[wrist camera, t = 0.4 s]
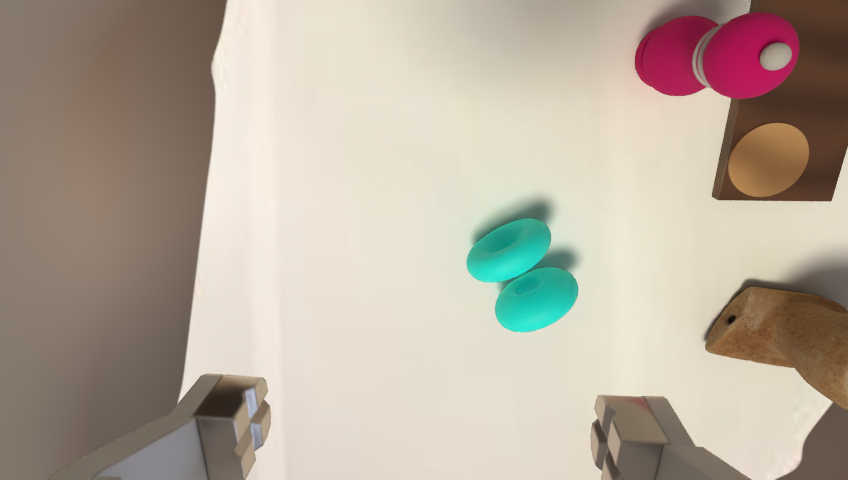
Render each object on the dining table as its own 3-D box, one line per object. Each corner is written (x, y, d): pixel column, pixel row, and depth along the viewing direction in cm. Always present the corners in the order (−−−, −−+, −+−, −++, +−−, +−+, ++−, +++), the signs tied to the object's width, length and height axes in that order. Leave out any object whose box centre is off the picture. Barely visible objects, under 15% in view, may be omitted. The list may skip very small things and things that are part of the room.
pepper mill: (713, 66, 51) (859, 72, 32) (648, 106, 53) (750, 133, 34) (683, 3, 49) (820, -30, 30) (617, 47, 51) (707, 41, 32)
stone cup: (860, 285, 58) (987, 357, 44) (812, 367, 62) (914, 457, 48) (735, 259, 58) (823, 323, 44) (696, 343, 62) (765, 425, 48)
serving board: (755, -20, 48) (766, -23, 46) (885, -23, 47) (901, -26, 45) (711, 196, 55) (719, 201, 54) (822, 197, 55) (833, 202, 53)
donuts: (499, 306, 62) (506, 350, 53) (461, 242, 60) (462, 276, 50) (571, 272, 60) (592, 312, 51) (536, 204, 57) (550, 232, 48)
